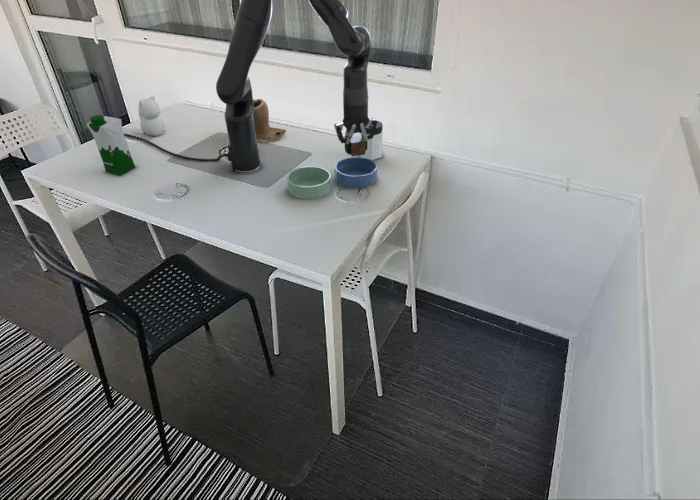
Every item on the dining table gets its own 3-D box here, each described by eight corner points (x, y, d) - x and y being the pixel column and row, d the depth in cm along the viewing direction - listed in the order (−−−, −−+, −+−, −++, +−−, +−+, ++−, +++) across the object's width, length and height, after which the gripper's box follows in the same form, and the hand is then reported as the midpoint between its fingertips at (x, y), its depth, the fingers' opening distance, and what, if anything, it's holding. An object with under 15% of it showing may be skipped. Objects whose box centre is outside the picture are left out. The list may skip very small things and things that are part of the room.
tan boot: (239, 140, 180) (232, 103, 171) (255, 129, 189) (250, 93, 180) (272, 146, 175) (267, 108, 166) (287, 135, 184) (283, 98, 175)
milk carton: (102, 173, 160) (80, 117, 147) (122, 162, 166) (103, 108, 154) (120, 177, 157) (100, 121, 144) (140, 166, 163) (122, 112, 151)
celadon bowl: (285, 200, 143) (283, 186, 140) (291, 179, 154) (290, 166, 151) (329, 201, 142) (329, 187, 139) (332, 179, 153) (332, 166, 150)
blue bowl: (334, 190, 148) (333, 176, 145) (336, 170, 159) (336, 157, 156) (377, 190, 147) (377, 176, 144) (376, 170, 158) (376, 157, 155)
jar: (367, 162, 163) (367, 130, 156) (354, 154, 169) (354, 123, 161) (386, 156, 167) (388, 124, 160) (374, 148, 173) (374, 117, 165)
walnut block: (351, 156, 145) (351, 143, 142) (347, 150, 148) (347, 137, 145) (365, 154, 146) (365, 141, 143) (360, 148, 149) (360, 135, 147)
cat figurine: (154, 140, 182) (143, 103, 173) (134, 133, 187) (123, 97, 178) (172, 132, 188) (162, 96, 179) (152, 126, 193) (142, 91, 184)
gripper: (373, 93, 141) (372, 144, 152) (329, 99, 138) (331, 151, 148) (382, 101, 136) (380, 153, 146) (336, 107, 132) (338, 160, 142)
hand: (356, 152), depth 147 cm, fingers closed on walnut block, 4 cm apart
